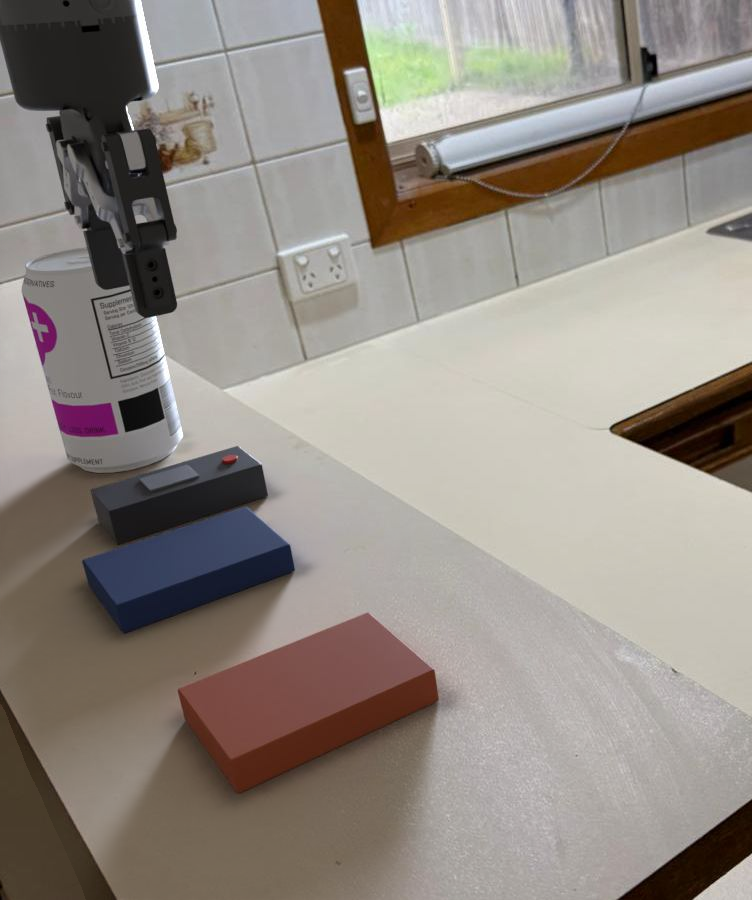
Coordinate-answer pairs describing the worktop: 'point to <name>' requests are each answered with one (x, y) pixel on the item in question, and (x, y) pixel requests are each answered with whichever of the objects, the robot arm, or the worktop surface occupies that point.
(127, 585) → the blue flat block
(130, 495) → the remote
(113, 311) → the supplement can
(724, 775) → the worktop surface
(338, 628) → the red rectangular block
